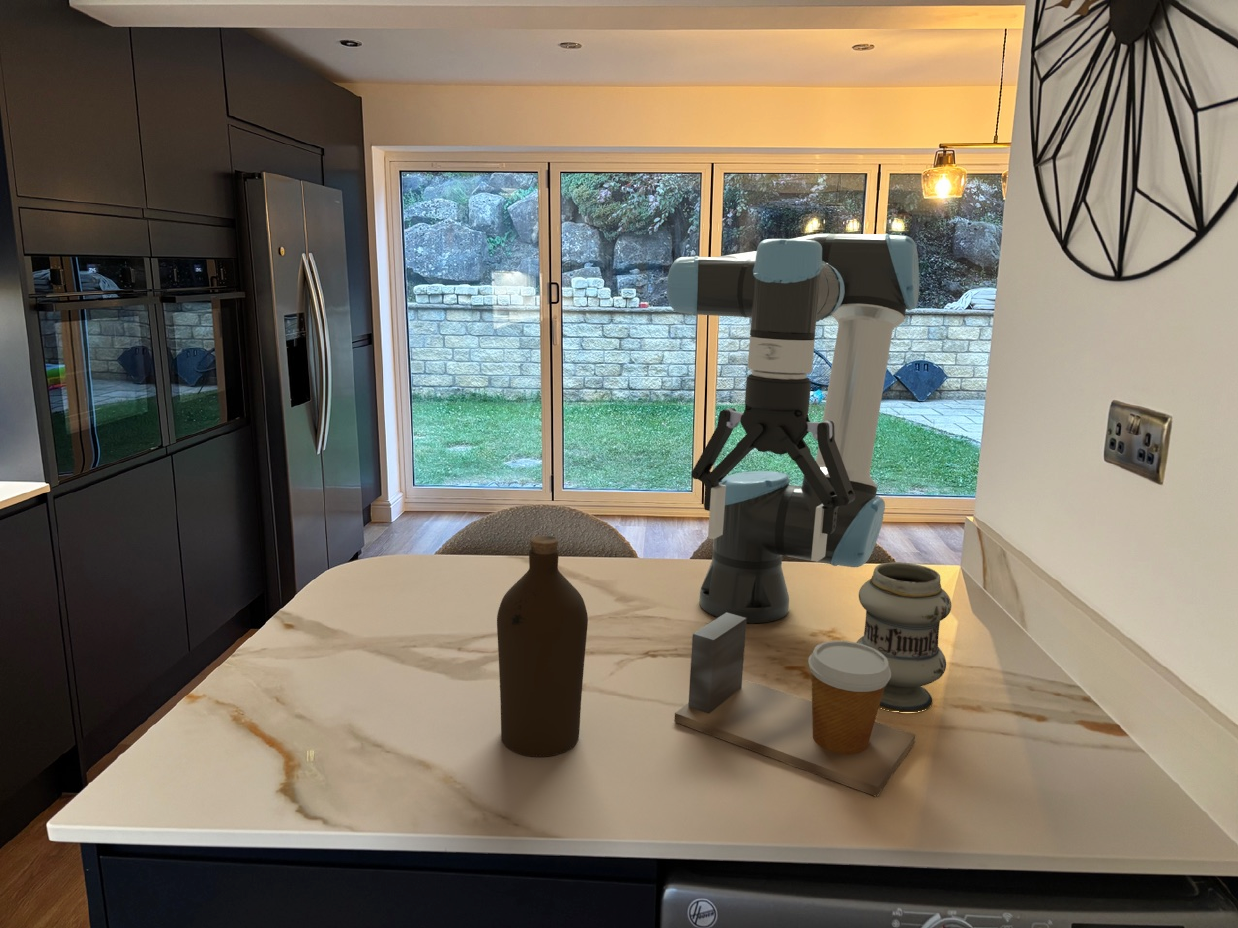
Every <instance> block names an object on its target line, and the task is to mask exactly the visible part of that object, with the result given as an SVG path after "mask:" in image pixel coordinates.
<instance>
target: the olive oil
mask: <svg viewBox="0 0 1238 928" xmlns="http://www.w3.org/2000/svg"><path fill="white" fill-rule="evenodd" d="M529 543H530V549H529V552H528V564H529V567H528V570H527V572H525V573H524V574H523V575H522V577H520V578H519V579H518V580H517V582H515V583H514V584H513V585H512V586H511V587H510V588H509V589H508V590H507V591H506V592H505V594H504V595H503V597H502V599H501V602H500V604H499V607H498V611H497V616H496V630H497V631H496V632H497V652H498V653H497V654H498V670H499V671H498V673H499V675H498V676H499V695H500V696H499V697H500V699H499V700H500V735H501V742H502V743H503V744H504V746H506V747H507V748H508V750H511V751H512V752H514V753H517V754H519V755H523V756H528V757H537V758H538V757H541V758H542V757H551V756H556V755H559V754H563V753H565V752H568V750H570V749H571V748H573V747H574V746H575V745H576V744H577V742H578V741H579V738H580V726H581V709H582V694H583V693H582V692H583V683H584V681H583V680H584V672H585V671H584V669H585V659H586V649H587V648H586V647H587V645H586V644H587V635H588V627H589V626H588V625H589V622H588V621H589V619H588V618H589V617H588V611H587V610H588V609H587V607H586V603H585V600H584V597H582V594H581V593H580V592H579V590H578V589H576V588H575V586H574V585H573V584H572V583H571V582H570V581H569V580H568V579H567V578H566V577H565V576H564V575H563V574H562V573H561V572H560V570H559V554H560V553H559V549H558V545H559V540H558V538H556V537H554V536H551V535H537V536H533V537H532V538H530V542H529Z"/></svg>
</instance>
